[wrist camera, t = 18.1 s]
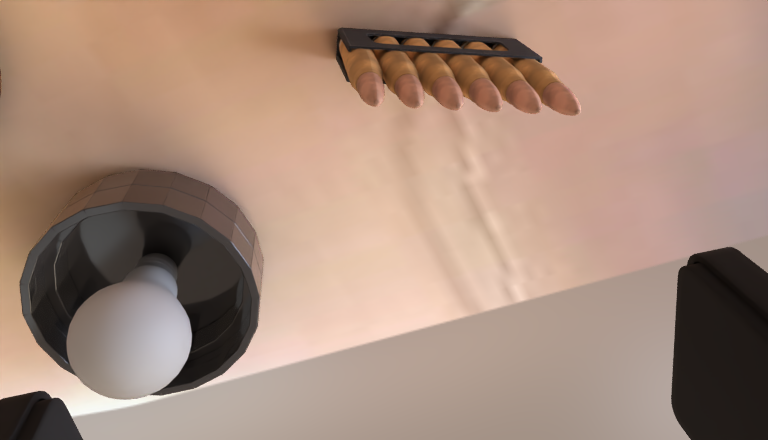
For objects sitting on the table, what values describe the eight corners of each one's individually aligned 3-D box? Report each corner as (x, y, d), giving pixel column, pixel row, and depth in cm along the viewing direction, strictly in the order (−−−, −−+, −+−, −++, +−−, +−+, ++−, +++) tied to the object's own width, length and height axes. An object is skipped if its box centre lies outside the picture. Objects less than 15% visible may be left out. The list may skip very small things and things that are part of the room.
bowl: (18, 188, 39) (-22, 230, 34) (233, 146, 39) (224, 181, 34) (97, 358, 44) (73, 414, 40) (283, 319, 45) (282, 370, 40)
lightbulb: (114, 304, 42) (58, 427, 32) (103, 220, 39) (39, 325, 29) (210, 304, 43) (185, 423, 33) (207, 221, 40) (178, 324, 30)
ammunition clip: (336, 60, 38) (352, 123, 27) (337, 27, 37) (355, 78, 26) (512, 70, 39) (594, 133, 28) (517, 39, 38) (603, 92, 28)
